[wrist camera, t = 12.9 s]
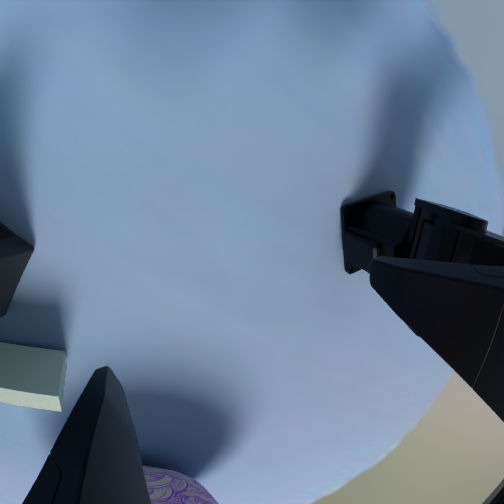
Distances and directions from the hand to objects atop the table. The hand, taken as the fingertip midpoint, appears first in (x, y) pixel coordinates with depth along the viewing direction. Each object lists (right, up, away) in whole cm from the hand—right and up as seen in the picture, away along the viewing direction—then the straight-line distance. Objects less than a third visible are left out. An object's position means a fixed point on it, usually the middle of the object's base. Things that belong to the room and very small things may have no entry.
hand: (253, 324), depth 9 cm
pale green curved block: (-21, -6, +8) cm, 23 cm away
